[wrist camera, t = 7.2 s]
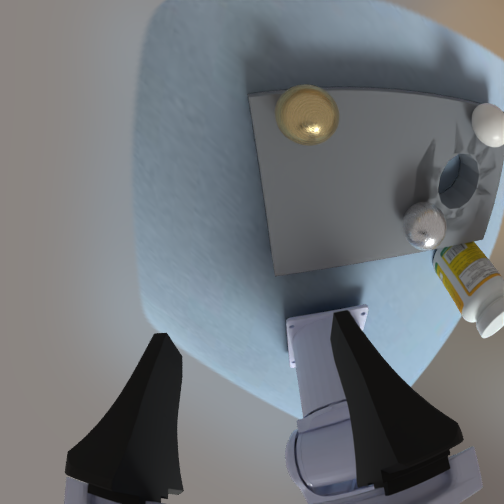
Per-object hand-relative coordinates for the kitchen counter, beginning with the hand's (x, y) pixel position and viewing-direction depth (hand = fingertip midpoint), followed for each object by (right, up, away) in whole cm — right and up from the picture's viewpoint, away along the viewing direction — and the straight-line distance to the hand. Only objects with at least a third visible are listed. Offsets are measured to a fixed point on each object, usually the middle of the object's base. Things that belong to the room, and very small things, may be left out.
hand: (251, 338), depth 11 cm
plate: (+11, +10, +6) cm, 15 cm away
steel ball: (+11, +5, +4) cm, 13 cm away
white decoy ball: (+15, +12, -1) cm, 19 cm away
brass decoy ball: (+3, +10, 0) cm, 10 cm away
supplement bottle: (+20, +4, +11) cm, 23 cm away
